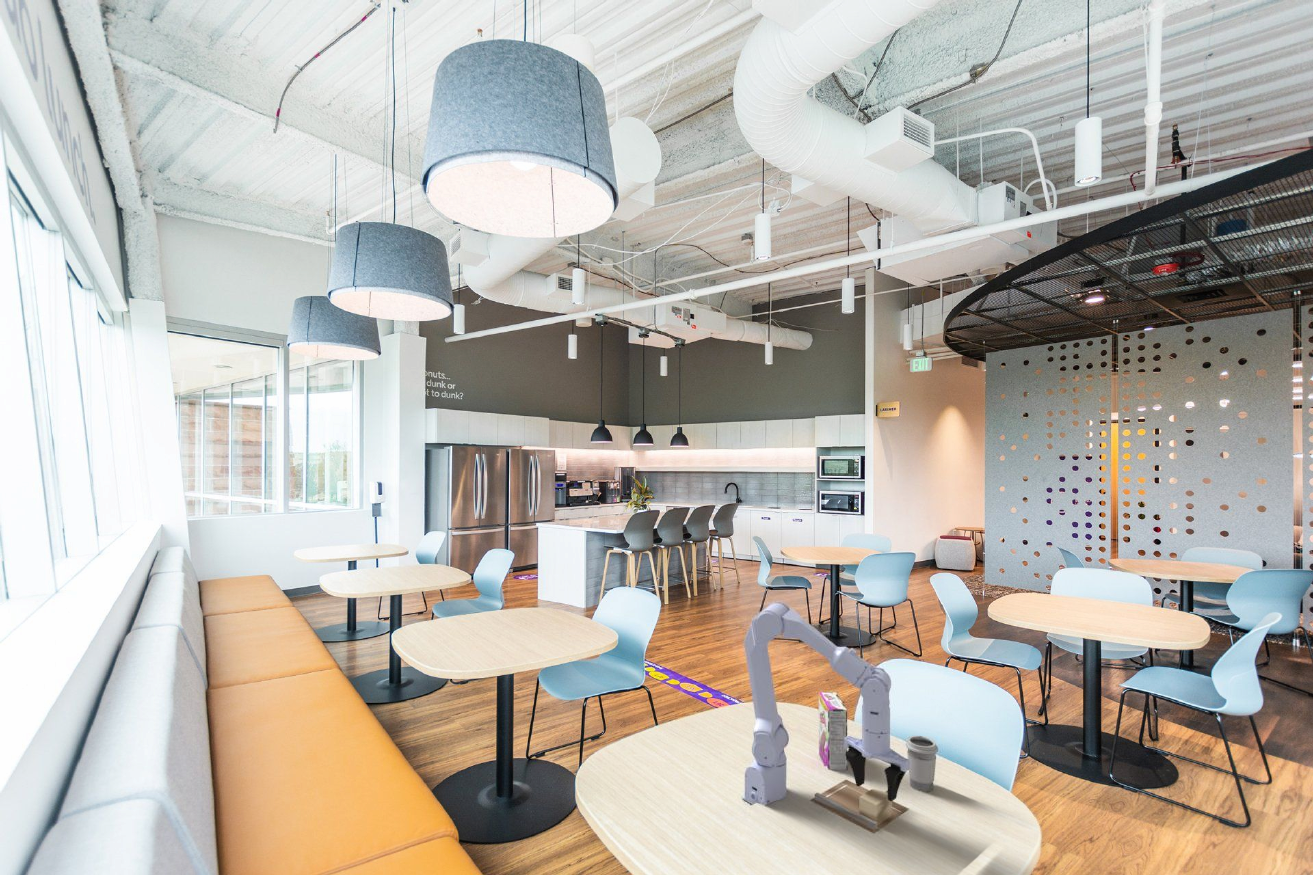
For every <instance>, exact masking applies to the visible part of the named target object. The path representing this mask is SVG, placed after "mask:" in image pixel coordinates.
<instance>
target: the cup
mask: <svg viewBox="0 0 1313 875" xmlns="http://www.w3.org/2000/svg"><path fill="white" fill-rule="evenodd" d="M905 747H906V749H907V759H909V760H910V769H909V770H908V776H909V784H910V787H911V788H912V789H914V790H915V791H918V792H922V793H929V792H931V791H933V788H934V781H935V775H936V774H935V773H936V764H937V763H936V761H937V754H936V753H938V752H939V748H938V746H937V744H936V742H935V740H933V739H931V738H930V737H926V736H923V735H912V736H909V737H908V739H907V740H906V742H905Z"/></svg>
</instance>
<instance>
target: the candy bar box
mask: <svg viewBox="0 0 1313 875" xmlns="http://www.w3.org/2000/svg"><path fill="white" fill-rule="evenodd" d="M846 737H848V709H847V708H846V706H845V704H844V703H843V701H842V700H841V698H840V696H839V695H838V693H837V692H831V691H830V692H829V691H827V692H825V691H820V692H818V755H819V757H820V760H821V761H822V763H823V765H824V767H827V770H830V771H831V770H832V771H848V759H847V758H846V755H845V753H846V752H847V751H848V748H846V747H844V738H846Z"/></svg>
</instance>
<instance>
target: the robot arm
mask: <svg viewBox="0 0 1313 875" xmlns="http://www.w3.org/2000/svg"><path fill="white" fill-rule="evenodd" d="M781 634H782V638H781V639H798V640H800V641H801V642H803V643H804V644H806V645H807V646H808V647H809V648H811V649H813V650H814V651H816V652H817V653H818V654H820V655H822V656H823V657H824V658H826V659H828V662H829V665H830V666H829V667H830V668H831V670H833V671H834V672H835V673H837V674H838V675H840V676H841V677H842V679H845V680H846V681H847V682H849V683H850V684H852V686H854V687H855V688H856V689H859V693H860V696H861V697H862V705H861V738H857V737H853V736H851V735H849V736H848V735H847V737H846V738H844V747H846V748H847V752H846V753H845V755H846V758H847V762H848V764H849V766H850V767H851V770H852V773H853V778H854V781H855V784H856V786H861V787H862V786H863V785H865V780H866V770H865V769H866V760H867V759H869V760H870V759H873V760H874V759H875V760H879V761H882V762H883V763H886V764H888V765H889V766H887V767H886V768H884V773H885V778H886V784H887V785H886V786H887V790H888V800H889V801H893V802H894V800H896V799H897V797H898V796H897V795H898V792H899V788H900V785H901V783H902V780H903V778H904V776H905V775H906V773H907V772H909V769H910V760H909V759H908V758H906V757H904V756H903V755H901V754H900V753H899V752H896V751H895V750H893V749H892V748H891V706H890V704H891V702H890V690H891V687H892V680H891V676H890V675H889V674H888V673H887V672H886V671H885V669H884V668H882V667H880V666H879V667H878V666H876V665H874V664H873V663H871V664H870V663H869V662H867V661H866V660H865V659H863V658H862V657H861V656H859V655H858V654H857V652H858V651H857V650H856V649H854V648H853V647H851V648H849V647H847V646H837V645H836V644H834V643H833V642H832V641H830V639H828V637H826V636H825V635H824V634H823V633H821V632H820V631H819V630H817V629H816V628H815V627H814V626H813V625H812V624H810V623H809V622H808V621H807V620H806V619H804V618H803V617H802V616H801V615H800V614H799V613H798V612H797V610H795V609H792V608H790V607H789V606H788V605H787V604H786V603H785V602H782V601H773V602H771V603H770V604H768V605H767V606H766V607H765V608H764V609H763V610H761V611H759V613H758V614H757V615H755V616H754V617H753V618H752V619H751V621H750V625H749V627H748V630H747V632H746V635H745V636H744V640H743V644H744V653H745V657H746V664H747V671H748V672H747V673H748V678H749V684H750V690H751V691H750V692H751V697H752V702H753V710H754V717H755V721H754V726H753V733H752V734H753V742H752V744H751V752H752V756H753V760H752V763H751V764H750V765H748V767H747V768H746V769H745V771H744V794H743V795H741V799H742V800H744V801H746V802H748V803H749V804H751V805H755V804H757V803H758V804H760V805H763V807H764V806H767V805H769V804H771V803H772V802H776V801H778V800H782V799H784V798H785V797H786V796H787V756H786V754H785V748H786V747H787V746H788V744H789V741H790V736H789V732H788V730H787V728H785V725H784V723H783V718H782V716H781V715H780V714H779V712H778V707H777V700H776V694H775V688H774V682H773V681H774V680H773V673H772V668H771V662H770V661H771V660H770V655H769V650H768V649H769V648H768V645H769V644H770V643H771V641H772V640H773V639H775V638H777V637H779V635H781Z"/></svg>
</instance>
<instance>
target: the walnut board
mask: <svg viewBox="0 0 1313 875" xmlns="http://www.w3.org/2000/svg"><path fill="white" fill-rule="evenodd" d="M870 790H871V789H868V788H865V787H863V786H862V785H861V786H856V782H852V781H850V780H848V779H844V780H843V781H841V782H839V783H837V784H836V785H834V786H832V787H830V788H829V789H826V790H825V791H823V792H822V793H819V792H816V793H814V797H813V798H811V799H809V801H810V802H812V803H813V804H816V805H818V806H819V807H821V808H824V809H826V810H828V811H829V812H832V813H834V814H835V815H837V816H839V817H841V818H843V819H845V820H847V821H848V822H851V823H852V824H854V825H856V826H859V827H860V828H862V829H864V830H866V831H868V832H871V833H872V834H876V833H877V832H878V831H879V830H881V829H883V828H884V827H886V826H887V825H888V824H890V823H891V822H893V821H894V820H895V819H897V818H898V817H900V816H901V815H903V814H904V813H905V812H907V811H909V810H910V809H909V807H906V806H904V805H902V804H900V803H898V802H895V801H894V800H893V801H892V813H891V817H889V818H888V819H886V820H885V821H883V822H882V823H880V824H879V825H878V826H877V822H875V821H873V820H871V819H869V818H867V817H865V816H863V815H861V814H859V797H860V796H862V795H863V794H865V793H867V792H868V791H870Z"/></svg>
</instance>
